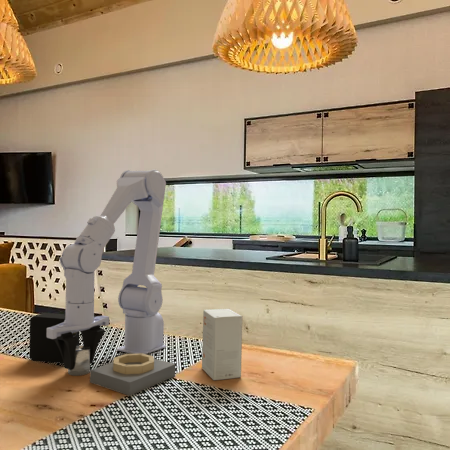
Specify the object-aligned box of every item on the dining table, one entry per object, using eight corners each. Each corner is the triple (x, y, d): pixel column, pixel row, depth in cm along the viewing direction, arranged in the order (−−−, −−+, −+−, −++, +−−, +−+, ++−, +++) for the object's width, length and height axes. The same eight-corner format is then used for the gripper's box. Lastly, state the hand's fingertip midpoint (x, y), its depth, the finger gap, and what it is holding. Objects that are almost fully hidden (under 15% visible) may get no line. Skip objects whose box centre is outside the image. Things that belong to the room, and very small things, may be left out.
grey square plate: (136, 365, 102) (137, 347, 102) (175, 376, 96) (175, 357, 96) (89, 382, 92) (90, 362, 91) (129, 395, 85) (130, 374, 85)
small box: (241, 378, 96) (243, 315, 96) (212, 381, 94) (214, 317, 94) (228, 365, 104) (229, 307, 103) (201, 368, 102) (202, 309, 101)
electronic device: (69, 364, 102) (70, 319, 102) (29, 360, 104) (29, 316, 104) (79, 358, 106) (79, 315, 106) (40, 354, 108) (40, 312, 108)
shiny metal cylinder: (80, 367, 100) (80, 344, 100) (94, 371, 98) (94, 348, 98) (63, 372, 97) (63, 349, 97) (77, 377, 94) (77, 353, 94)
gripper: (94, 294, 105) (93, 353, 105) (37, 303, 93) (36, 370, 93) (116, 298, 101) (115, 359, 102) (59, 308, 89) (58, 378, 89)
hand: (79, 365), depth 97 cm, fingers closed on shiny metal cylinder, 4 cm apart
